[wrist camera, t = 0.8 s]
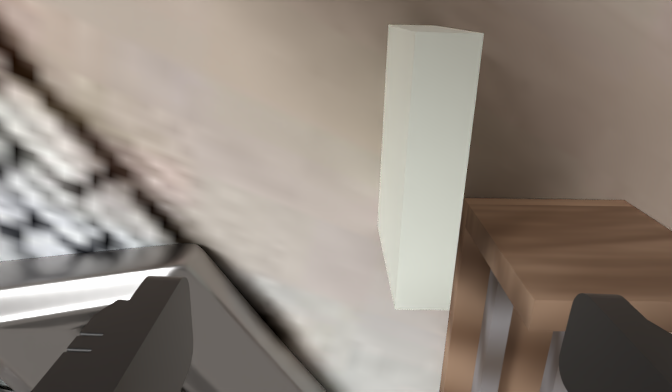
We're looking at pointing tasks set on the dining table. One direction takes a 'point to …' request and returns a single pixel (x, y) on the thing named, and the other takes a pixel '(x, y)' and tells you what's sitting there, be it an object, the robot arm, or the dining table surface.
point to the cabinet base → (544, 284)
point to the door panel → (425, 158)
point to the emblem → (120, 283)
